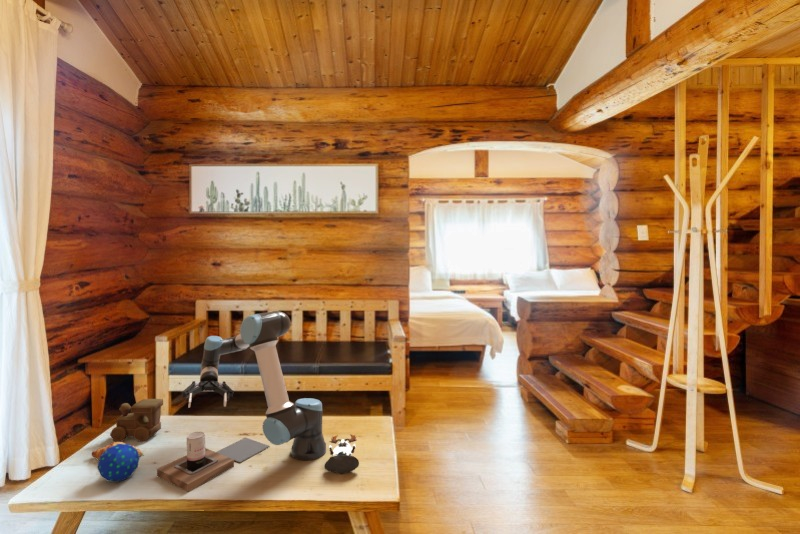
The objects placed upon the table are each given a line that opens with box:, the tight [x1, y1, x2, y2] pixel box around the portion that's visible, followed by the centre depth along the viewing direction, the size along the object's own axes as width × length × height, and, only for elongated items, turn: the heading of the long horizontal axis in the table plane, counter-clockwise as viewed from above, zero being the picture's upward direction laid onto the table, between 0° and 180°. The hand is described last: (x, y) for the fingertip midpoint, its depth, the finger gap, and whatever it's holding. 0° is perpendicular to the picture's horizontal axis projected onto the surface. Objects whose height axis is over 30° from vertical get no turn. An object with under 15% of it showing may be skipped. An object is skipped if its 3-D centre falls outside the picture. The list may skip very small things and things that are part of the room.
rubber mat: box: [215, 437, 270, 464], centre depth 180 cm, size 16×16×1 cm
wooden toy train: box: [109, 398, 164, 442], centre depth 191 cm, size 20×11×17 cm, turn 92°
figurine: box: [324, 434, 360, 475], centre depth 170 cm, size 14×10×18 cm
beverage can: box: [186, 431, 206, 472], centre depth 163 cm, size 7×6×15 cm
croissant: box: [91, 441, 144, 461], centre depth 173 cm, size 21×10×8 cm, turn 93°
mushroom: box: [97, 443, 140, 483], centre depth 159 cm, size 14×14×15 cm
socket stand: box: [156, 447, 235, 492], centre depth 163 cm, size 20×20×3 cm
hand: (207, 404), depth 169 cm, fingers open, 13 cm apart
